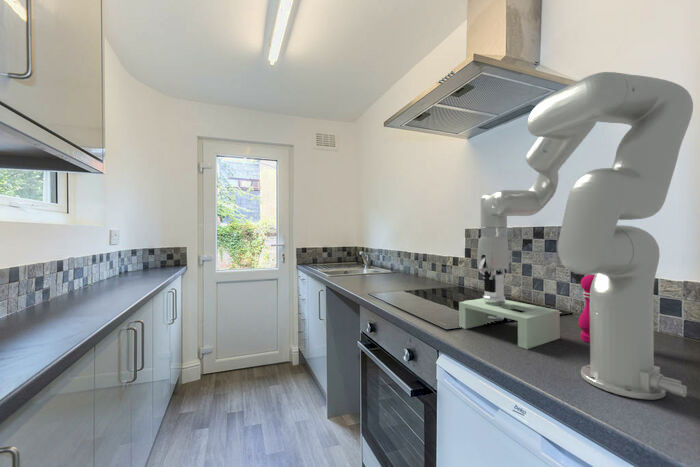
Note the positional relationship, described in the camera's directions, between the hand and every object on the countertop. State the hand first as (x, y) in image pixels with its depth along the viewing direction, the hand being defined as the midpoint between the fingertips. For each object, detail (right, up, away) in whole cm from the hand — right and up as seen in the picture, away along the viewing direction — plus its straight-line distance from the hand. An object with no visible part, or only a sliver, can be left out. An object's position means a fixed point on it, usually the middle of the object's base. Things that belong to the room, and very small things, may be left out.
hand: (494, 290), depth 96 cm
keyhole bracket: (+2, -12, -3) cm, 13 cm away
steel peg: (0, -9, 0) cm, 9 cm away
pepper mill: (+23, -12, -11) cm, 28 cm away
